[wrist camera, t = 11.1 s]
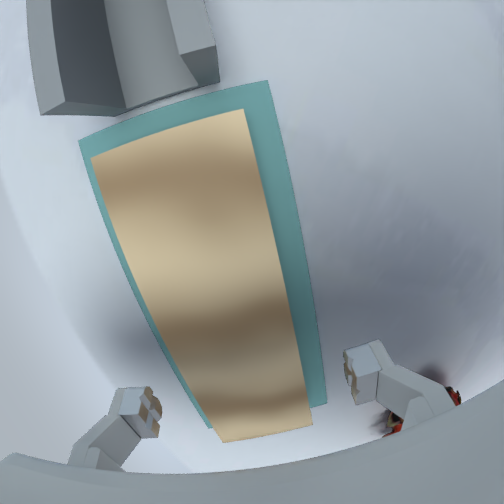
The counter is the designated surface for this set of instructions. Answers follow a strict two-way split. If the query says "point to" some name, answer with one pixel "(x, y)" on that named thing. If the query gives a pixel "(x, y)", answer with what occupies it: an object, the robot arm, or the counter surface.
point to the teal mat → (277, 199)
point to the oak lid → (210, 270)
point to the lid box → (117, 53)
